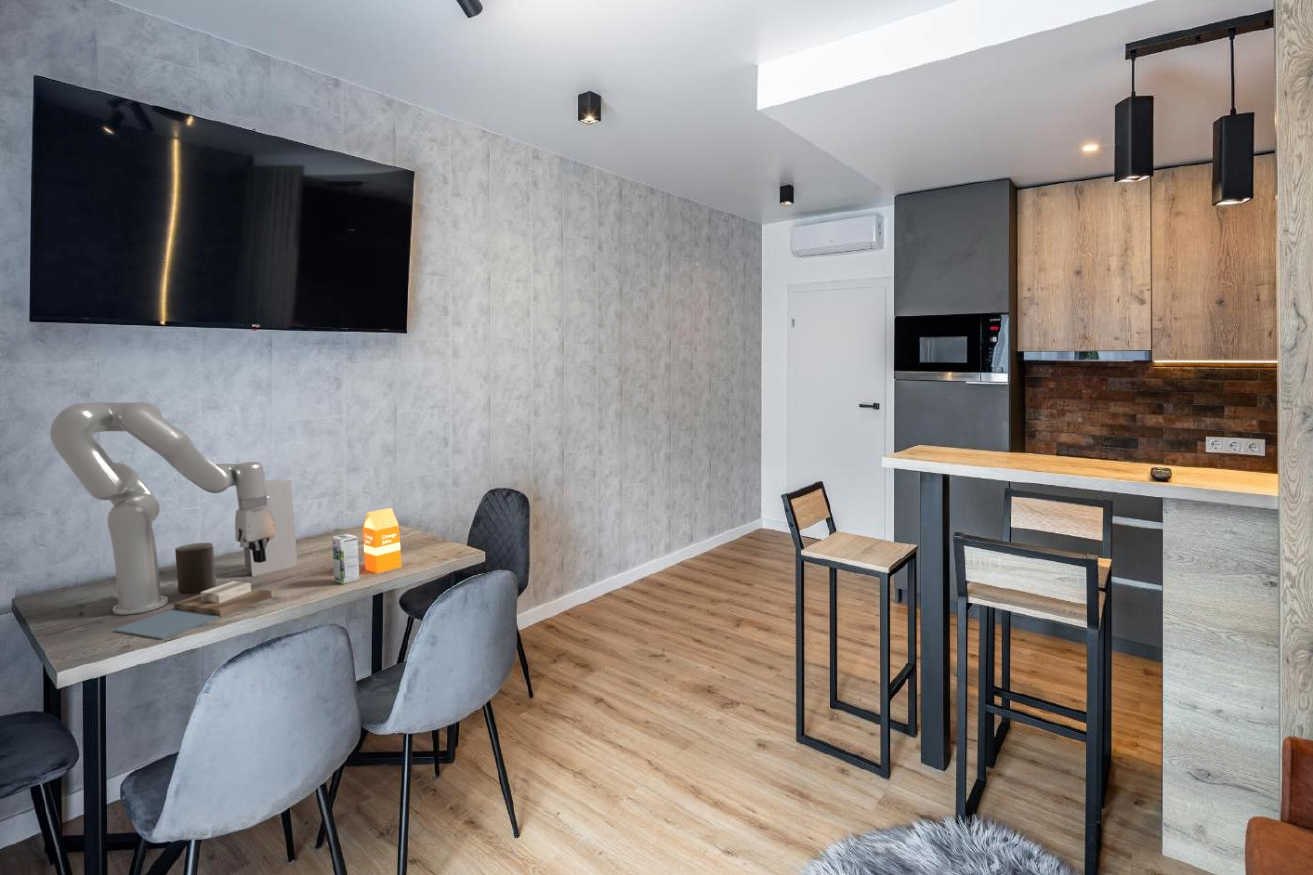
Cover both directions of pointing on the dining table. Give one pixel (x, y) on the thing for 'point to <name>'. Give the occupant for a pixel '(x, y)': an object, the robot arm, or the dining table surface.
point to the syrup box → (345, 558)
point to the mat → (166, 624)
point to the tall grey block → (277, 532)
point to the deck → (222, 603)
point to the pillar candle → (195, 568)
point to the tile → (225, 591)
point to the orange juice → (381, 541)
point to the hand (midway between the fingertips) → (260, 561)
